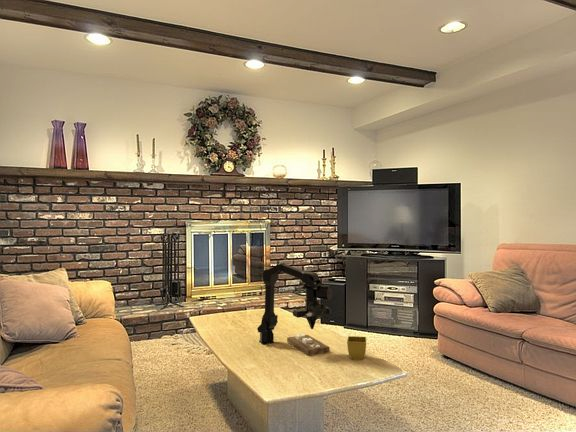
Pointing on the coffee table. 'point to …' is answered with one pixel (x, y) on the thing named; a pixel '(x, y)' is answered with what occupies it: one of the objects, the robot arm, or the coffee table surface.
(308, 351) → the button panel
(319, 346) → the button three
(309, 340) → the button two
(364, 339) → the flower pot
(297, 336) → the button one
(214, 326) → the coffee table surface
